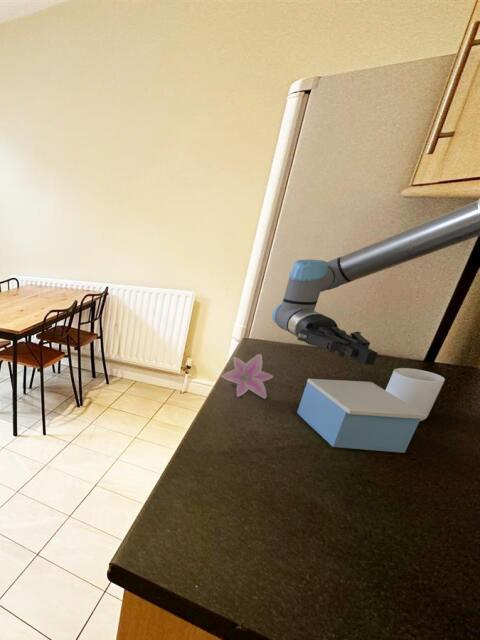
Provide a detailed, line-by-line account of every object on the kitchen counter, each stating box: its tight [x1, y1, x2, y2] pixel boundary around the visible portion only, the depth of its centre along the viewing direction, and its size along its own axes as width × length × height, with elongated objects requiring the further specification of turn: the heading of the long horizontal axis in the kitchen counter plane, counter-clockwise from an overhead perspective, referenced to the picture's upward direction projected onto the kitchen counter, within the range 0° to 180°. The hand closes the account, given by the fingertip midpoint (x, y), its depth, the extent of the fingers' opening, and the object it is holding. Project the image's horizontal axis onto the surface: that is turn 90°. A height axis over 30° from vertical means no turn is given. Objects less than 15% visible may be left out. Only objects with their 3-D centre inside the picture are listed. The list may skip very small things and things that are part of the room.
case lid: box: [306, 378, 427, 420], centre depth 88 cm, size 16×13×1 cm
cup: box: [384, 367, 446, 422], centre depth 98 cm, size 8×12×10 cm
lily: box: [221, 353, 274, 400], centre depth 111 cm, size 12×12×10 cm
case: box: [296, 381, 421, 454], centre depth 91 cm, size 16×13×8 cm
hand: (371, 358), depth 86 cm, fingers closed
